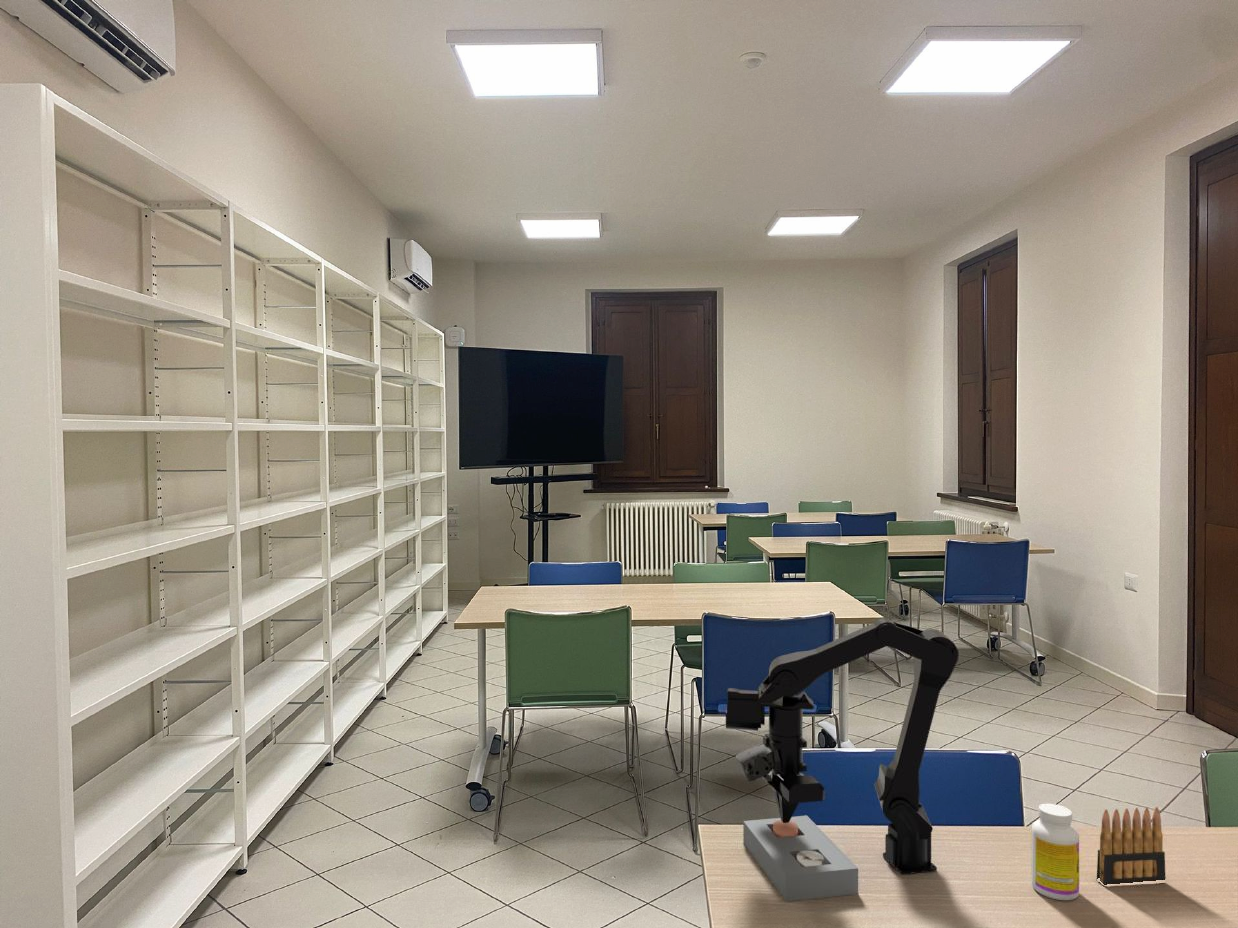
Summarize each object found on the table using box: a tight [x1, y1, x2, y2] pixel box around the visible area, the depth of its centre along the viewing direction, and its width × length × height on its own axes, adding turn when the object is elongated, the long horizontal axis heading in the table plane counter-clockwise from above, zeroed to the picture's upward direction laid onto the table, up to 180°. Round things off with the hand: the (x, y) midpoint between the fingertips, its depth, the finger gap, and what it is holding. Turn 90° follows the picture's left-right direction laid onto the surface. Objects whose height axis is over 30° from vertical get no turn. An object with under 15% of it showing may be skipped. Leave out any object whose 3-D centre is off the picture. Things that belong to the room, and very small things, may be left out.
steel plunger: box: [797, 850, 824, 867], centre depth 129 cm, size 4×4×3 cm
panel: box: [742, 815, 859, 903], centre depth 134 cm, size 12×19×4 cm, turn 11°
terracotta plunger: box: [773, 820, 798, 838], centre depth 138 cm, size 4×4×3 cm
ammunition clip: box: [1096, 806, 1167, 885], centre depth 129 cm, size 11×2×12 cm, turn 96°
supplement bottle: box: [1030, 803, 1080, 901], centre depth 126 cm, size 7×7×13 cm
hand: (785, 821), depth 138 cm, fingers closed
